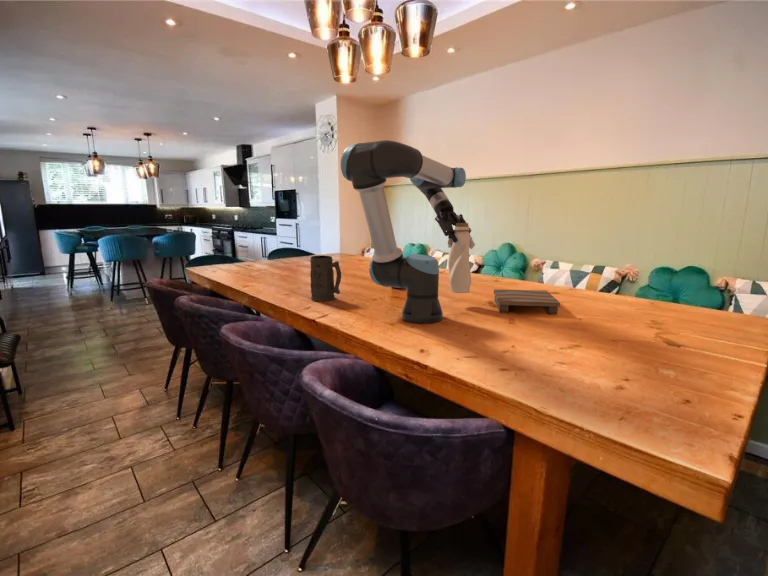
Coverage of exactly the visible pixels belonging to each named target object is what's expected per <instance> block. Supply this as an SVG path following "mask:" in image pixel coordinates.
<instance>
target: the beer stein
mask: <svg viewBox="0 0 768 576" xmlns="http://www.w3.org/2000/svg"><path fill="white" fill-rule="evenodd" d="M309 262H310V294H311V297H310V300H311V301H313V302H318V301H324V302H329V300H330V301H333V300H335V298H336V297H335V295H340V294H341V293H340V292H341V291H340V289H339V287H340V284H341V281H342V280H341V279H342V271H341V267H340V262H339V261H334V262H333V257H332V256H331V255H330V256H329V255H313V256H310V260H309ZM333 268H335V272H336V279H335V277H334V269H333Z"/></svg>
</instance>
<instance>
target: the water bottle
mask: <svg viewBox="0 0 768 576" xmlns="http://www.w3.org/2000/svg"><path fill="white" fill-rule="evenodd" d="M468 226H469V222H466V223H456V227H455V226H454V229H453V230H454V234H455V233H457V235H458V236H459V238H460V240H461V241H462V243H463V245H464V246H463V247H462V249H461V250H459V249H458V247H457V246H456V244H455V243H454V242H453V240H452V239H451V238H450V239H449V238H448V240H447V245H448V248H450V251H449V255H448V261H447V262H448V264H447V268H448V275H449V286H450V287H449V288H450V292H451V293H455V294H467V293H468V294H469V293H470V291H471V286H472V285H471V284H472V274H471V273H472V272H471V268H470V247H469V245H470V237H469V231H471V230H472V229H471V230H469V227H470V226H469V227H468ZM471 232H472V231H471Z"/></svg>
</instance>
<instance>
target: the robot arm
mask: <svg viewBox="0 0 768 576" xmlns="http://www.w3.org/2000/svg"><path fill="white" fill-rule="evenodd" d="M340 171H341V173H342V176H343V178H345V180H347V181H349V182H351V184H352V187H353V189H354V190H355V191H357V192H358V193H359V197H360V200H361V205H362V208H363V211H364V215H365V220H366V224H367V227H368V231H369V235H370V239H371V244H372V247H373V251H374V253H373V255H372V256H371V260H370V262H369V268H368V273H369V275H370V278H371V280H372V282H373V283H375V284H376V285H378V286H382V287H385V288H398V289H404V290H406V300H405V302H404V305H403V309H402V312H401V319H402V320H404V321H406V322H409V323H414V324H433V323H437V322H441V321H443V317H444V316H443V315H444V314H443V309H442V306H441V303H440V299H439V285H440V284H439V278H440V268H439V266H440V265H439V260H438V259H437V258H435V257H434V256H430V255H426V254H416V253H412V254H408V255H406V257H404V254H403V249H401V248H400V247H398V246H397V241H396V237H395V233H394V229H393V228H394V227H393V223H392V218H391V215H390V210H389V205H388V201H387V198H386V197H387V196H386V193H385V188H384V185H385V184H386V182H387V179H391V178H392V179H393V178H407V179H409V181H410V182H411V183H412V184H413V185H414V186H415V187H416V188H417V189H418V190H419V191H420V192H421V193H422V194H423V195H424V196H425V198H426V200H427V201H428V202H429V204H430V206H431V208H432V209H433V211H434V213H435V214H436V216H435V218H434V220H435V222H436V223H438V226H439V228H440V230H441V231H442V233H443V234H444V236H445V237H447V239H448V240H449V239H450V238H451V239H452V240H453V242H454V243H455V244H456V246H457V247H458V249H459V250H461V249H462V247H463V246H464V245H463V243H462V241H461V240H460V238H459V236H458V235H457V233H455V234H454V230H455V229H454V228H455V227H456V223H467V221H466V220H465V219H464V216H463V214H462V213H459V214H457V213H456V212H455V211H454V206H453V204H452V202H451V201H450V200H449V199H450V198H448V196H447V194H446V193H445V192H444V190H443V189H448V188H450V189H451V188H454V189H456V188H462V187H464V185H465V183H466V179H467V177H466V176H467V175H466V171H465V169H464V168H463V167H457V166H456V167H450V166H448V165H447V164H446V165H445V164H444V163H441V162H440V161H439V162H438V161H437V160H434V159H432V158H429V157H427V156H425V155H423V154H422V153H421V151H420V150H419V149H417V148H415V147H413V146H411V145H408V144H405V143H402V142H399V141H396V140H395V141H394V140H389V139H388V140H387V139H384V140H377V141H367V142H359V143H354V144H350V145H348V146H347V147H345V149H344V151H343V153H342V156H341V158H340ZM468 227H469V230H471V231H469V237H470V245H469V250H472V249H473V248H474V247H475V245H476V243H475V242H474V240H473V237H472V236H471V232H472V231H473V230H472V228H470V226H469V225H468Z"/></svg>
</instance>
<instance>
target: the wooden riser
mask: <svg viewBox="0 0 768 576" xmlns="http://www.w3.org/2000/svg"><path fill="white" fill-rule="evenodd" d="M493 295H494V302H495V306H496V307H497V309H498V311H499V313H500V314H509V306H525V307H526V306H528V307H529V306H530V307H531V306H532V307H535V306H536V307H541V308H542V309H543V310H544V311H545V312H546V314H547V315H550V316H552V315H553V316H554V315H556V316H557V315H558V307H561V302H560V301H559V300H558V299H557V298H556V297H555V296H553V295H552V294H551V292H549V291H548V290H546V289H545V290H543V289H542V290H541V289H535V290H534V289H532V290H531V289H500V288H499V289H498V288H497V289H496V288H494V289H493Z"/></svg>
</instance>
